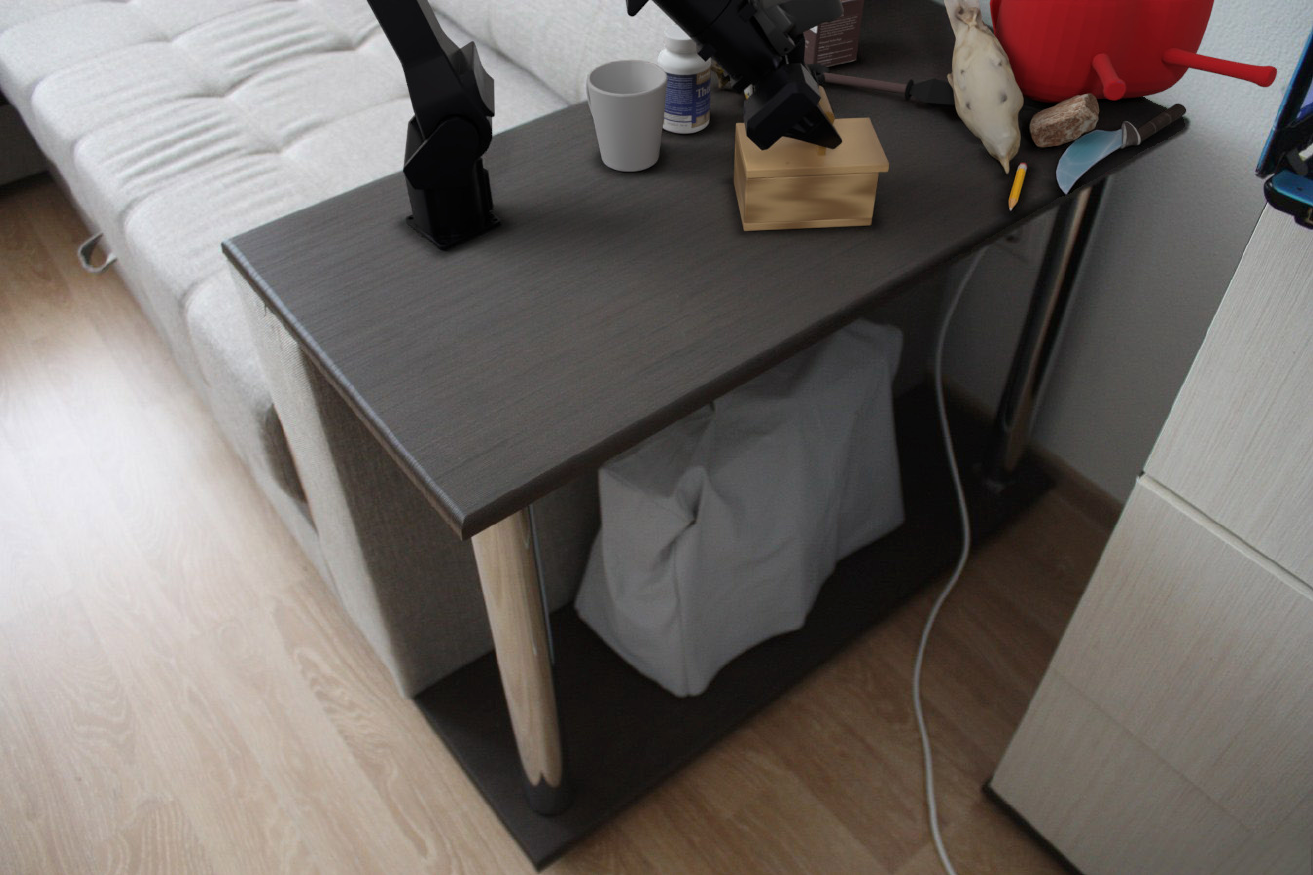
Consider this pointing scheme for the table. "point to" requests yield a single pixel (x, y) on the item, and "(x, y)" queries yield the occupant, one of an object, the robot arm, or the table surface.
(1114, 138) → the knife
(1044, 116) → the stone
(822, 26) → the box
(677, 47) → the pill bottle
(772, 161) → the lid
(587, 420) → the table surface
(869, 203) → the box
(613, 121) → the cup
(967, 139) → the table surface
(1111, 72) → the novelty television
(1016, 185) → the pencil
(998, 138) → the sculpture
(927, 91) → the kunai knife
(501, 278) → the table surface
